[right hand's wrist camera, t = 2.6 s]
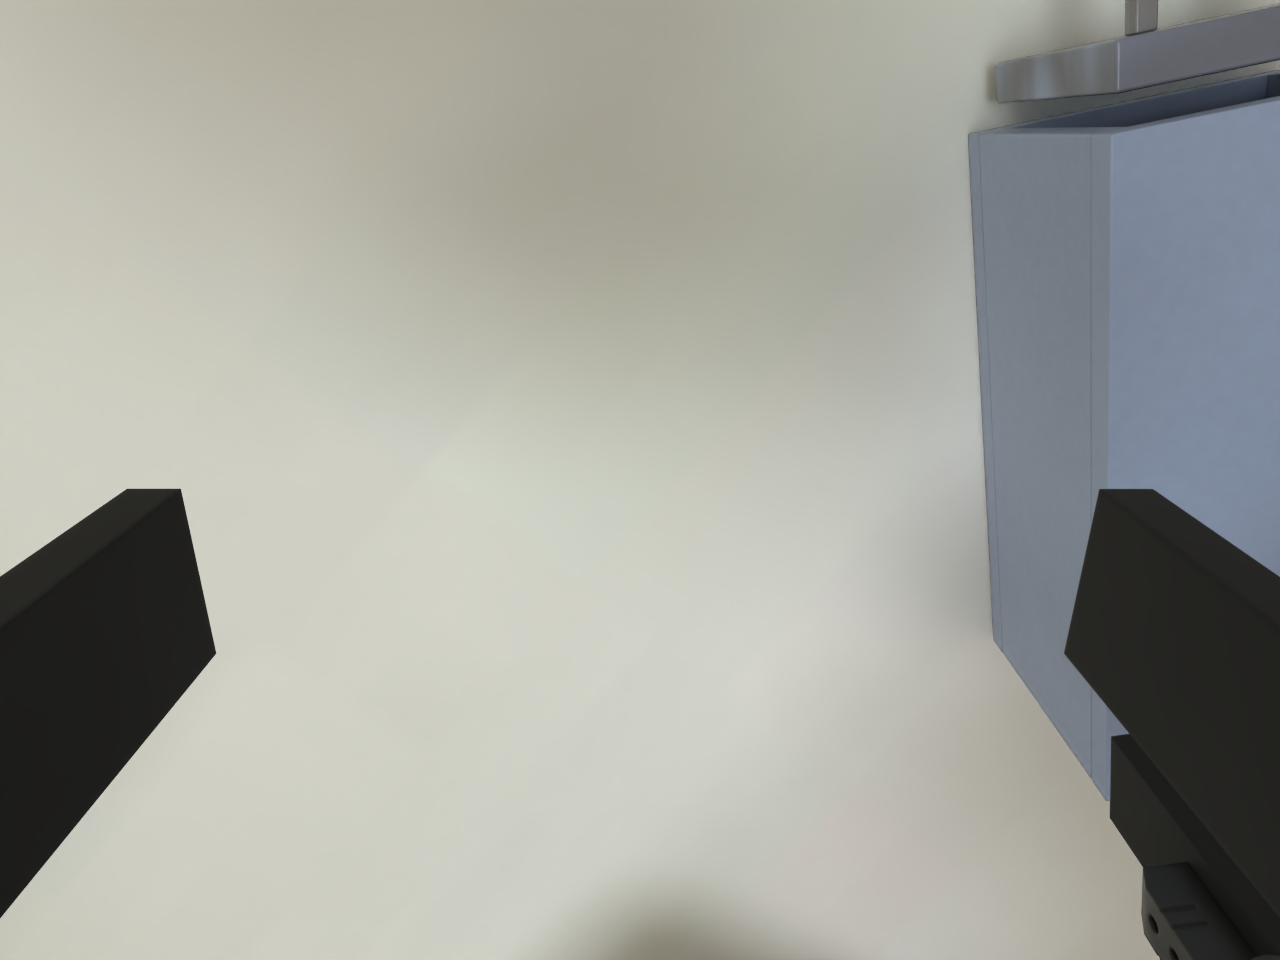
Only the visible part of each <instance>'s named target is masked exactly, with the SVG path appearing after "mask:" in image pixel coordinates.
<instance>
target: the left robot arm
mask: <svg viewBox="0 0 1280 960" xmlns="http://www.w3.org/2000/svg"><path fill="white" fill-rule="evenodd" d="M1110 819H1111V820H1112V822H1113V823H1114V825H1115V826H1116V828H1117V829H1118V831H1119V832H1120V833H1121V835H1122V836H1123V838H1124V839H1125V841H1126V842H1127V844H1128V845H1129V847H1130V848H1131V850H1132V851H1133V853H1134V854H1135V856H1136V857H1137V859H1138V860H1139V862H1140V863H1141V865H1142V866H1143V884H1142V921H1143V928H1144V934H1145V936H1146V938H1147V939H1148V941H1149V942H1150V944H1151V946H1152V947H1153V949H1154V951H1155V952H1156V954H1157V955H1159V957H1160V960H1280V918H1279V917H1278V915H1277V914H1276V913H1275V912H1274V910H1273V909H1272V908H1271V907H1270V906H1269V904H1268V903H1267V902H1266V901H1265V899H1264V898H1263V897H1262V896H1261V895H1260V893H1259V892H1258V891H1257V890H1256V888H1255V887H1254V886H1253V885H1252V883H1251V882H1250V881H1249V880H1248V879H1247V877H1246V876H1245V875H1244V874H1243V872H1242V871H1241V870H1240V869H1239V868H1238V866H1237V865H1236V864H1235V863H1234V861H1233V860H1232V859H1231V858H1230V857H1229V855H1228V854H1227V853H1226V852H1225V850H1224V849H1223V848H1222V847H1221V845H1220V844H1219V843H1218V842H1217V841H1216V839H1215V838H1214V837H1213V836H1212V834H1211V833H1210V832H1209V831H1208V830H1207V828H1206V827H1205V826H1204V825H1203V823H1202V822H1201V821H1200V820H1199V819H1198V817H1197V816H1196V815H1195V814H1194V812H1193V811H1192V810H1191V809H1190V807H1189V806H1188V805H1187V804H1186V803H1185V801H1184V800H1183V799H1182V798H1181V796H1180V795H1179V794H1178V793H1177V792H1176V790H1175V789H1174V788H1173V787H1172V785H1171V784H1170V783H1169V782H1168V780H1167V779H1166V778H1165V777H1164V776H1163V774H1162V773H1161V772H1160V771H1159V769H1158V768H1157V767H1156V766H1155V765H1154V763H1153V762H1152V761H1151V760H1150V758H1149V757H1148V756H1147V755H1146V754H1145V752H1144V751H1143V750H1142V749H1141V747H1140V746H1139V745H1138V744H1137V742H1136V741H1135V740H1134V739H1133V738H1132V736H1131V735H1130V734H1123V735H1117V736H1111V775H1110Z"/></svg>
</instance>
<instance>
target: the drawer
mask: <svg viewBox="0 0 1280 960" xmlns="http://www.w3.org/2000/svg"><path fill="white" fill-rule="evenodd" d="M1157 20H1158V0H1125V35H1126V36H1123V37H1118V38H1113V39H1109V40H1104V41H1099V42H1095V43H1090V44H1085V45H1080V46H1076V47H1071V48H1066V49H1061V50H1057V51H1052V52H1047V53H1042V54H1038V55H1033V56H1028V57H1024V58H1019V59H1014V60H1009V61H1005V62H1000V63H997V64H996V93H997V102H998V103H1009V102H1021V101H1033V100H1044V99H1056V98H1068V97H1080V96H1092V95H1104V94H1116V93H1122V92H1127V91H1131V90H1136V89H1141V88H1146V87H1151V86H1156V85H1160V84H1165V83H1170V82H1175V81H1180V80H1185V79H1189V78H1194V77H1199V76H1204V75H1209V74H1214V73H1218V72H1223V71H1228V70H1233V69H1238V68H1243V67H1247V66H1252V65H1257V64H1262V63H1267V62H1272V61H1276V60H1280V3H1279V4H1274V5H1270V6H1265V7H1260V8H1255V9H1251V10H1246V11H1241V12H1237V13H1232V14H1227V15H1222V16H1218V17H1213V18H1208V19H1203V20H1199V21H1194V22H1189V23H1184V24H1180V25H1175V26H1170V27H1166V28H1161V29H1157ZM1255 101H1257V100H1255ZM1250 102H1252V101H1250ZM1245 103H1247V102H1245ZM1240 104H1242V103H1240ZM1235 105H1237V104H1235ZM1231 106H1232V105H1231ZM1226 107H1227V106H1226ZM1221 108H1222V107H1221ZM1216 109H1217V108H1216ZM1211 110H1213V109H1211ZM1206 111H1208V110H1206ZM1201 112H1203V111H1201ZM1196 113H1198V112H1196ZM1191 114H1193V113H1191ZM1186 115H1188V114H1186ZM1182 116H1183V115H1182ZM1177 117H1178V116H1177ZM1172 118H1173V117H1172ZM1167 119H1168V118H1167ZM1162 120H1164V119H1162ZM1157 121H1159V120H1157ZM1152 122H1154V121H1152ZM1147 123H1149V122H1147ZM1142 124H1144V123H1142ZM1137 125H1139V124H1137ZM1132 126H1134V125H1132ZM1128 127H1129V126H1128Z"/></svg>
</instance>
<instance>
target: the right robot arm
mask: <svg viewBox="0 0 1280 960" xmlns="http://www.w3.org/2000/svg"><path fill="white" fill-rule="evenodd" d="M215 654H216V651H215V646H214V641H213V637H212V632H211V627H210V623H209V618H208V613H207V609H206V604H205V599H204V595H203V590H202V585H201V581H200V576H199V572H198V567H197V562H196V558H195V553H194V548H193V544H192V539H191V534H190V530H189V525H188V520H187V516H186V511H185V506H184V502H183V497H182V493H181V489H126V490H125V491H123V492H122V493H121V494H119V495H118V496H116V497H115V498H113V499H112V500H110V501H109V502H108V503H106V504H105V505H103V506H102V507H100V508H99V509H97V510H96V511H95V512H93V513H92V514H90V515H89V516H87V517H86V518H84V519H83V520H82V521H80V522H79V523H77V524H76V525H74V526H73V527H71V528H70V529H69V530H67V531H66V532H64V533H63V534H61V535H60V536H58V537H57V538H56V539H54V540H53V541H51V542H50V543H48V544H47V545H45V546H44V547H43V548H41V549H40V550H38V551H37V552H35V553H34V554H32V555H31V556H30V557H28V558H27V559H25V560H24V561H22V562H21V563H19V564H18V565H17V566H15V567H14V568H12V569H11V570H9V571H8V572H6V573H5V574H4V575H2V576H1V577H0V918H1V917H2V915H3V914H4V913H5V912H6V910H7V909H8V908H9V907H10V906H11V904H12V903H13V902H14V901H15V899H16V898H17V897H18V896H19V895H20V893H21V892H22V891H23V890H24V888H25V887H26V886H27V885H28V883H29V882H30V881H31V880H32V879H33V877H34V876H35V875H36V874H37V872H38V871H39V870H40V869H41V868H42V866H43V865H44V864H45V863H46V861H47V860H48V859H49V858H50V857H51V855H52V854H53V853H54V852H55V850H56V849H57V848H58V847H59V845H60V844H61V843H62V842H63V841H64V839H65V838H66V837H67V836H68V834H69V833H70V832H71V831H72V830H73V828H74V827H75V826H76V825H77V823H78V822H79V821H80V820H81V818H82V817H83V816H84V815H85V814H86V812H87V811H88V810H89V809H90V807H91V806H92V805H93V804H94V803H95V801H96V800H97V799H98V798H99V796H100V795H101V794H102V793H103V792H104V790H105V789H106V788H107V787H108V785H109V784H110V783H111V782H112V780H113V779H114V778H115V777H116V776H117V774H118V773H119V772H120V771H121V769H122V768H123V767H124V766H125V765H126V763H127V762H128V761H129V760H130V758H131V757H132V756H133V755H134V754H135V752H136V751H137V750H138V749H139V747H140V746H141V745H142V744H143V742H144V741H145V740H146V739H147V738H148V736H149V735H150V734H151V733H152V731H153V730H154V729H155V728H156V727H157V725H158V724H159V723H160V722H161V720H162V719H163V718H164V717H165V716H166V714H167V713H168V712H169V711H170V709H171V708H172V707H173V706H174V704H175V703H176V702H177V701H178V700H179V698H180V697H181V696H182V695H183V693H184V692H185V691H186V690H187V689H188V687H189V686H190V685H191V684H192V682H193V681H194V680H195V679H196V678H197V676H198V675H199V674H200V673H201V671H202V670H203V669H204V668H205V666H206V665H207V664H208V663H209V662H210V660H211V659H212V658H213V657H214V655H215ZM1064 654H1065V655H1066V657H1067V658H1068V659H1069V660H1070V662H1071V663H1072V664H1073V665H1074V666H1075V668H1076V669H1077V670H1078V671H1079V673H1080V674H1081V675H1082V676H1083V678H1084V679H1085V680H1086V681H1087V682H1088V684H1089V685H1090V686H1091V687H1092V689H1093V690H1094V691H1095V692H1096V693H1097V695H1098V696H1099V697H1100V698H1101V700H1102V701H1103V702H1104V703H1105V704H1106V706H1107V707H1108V708H1109V709H1110V711H1111V712H1112V713H1113V714H1114V716H1115V717H1116V718H1117V719H1118V720H1119V722H1120V723H1121V724H1122V725H1123V727H1124V728H1125V729H1126V730H1127V731H1128V733H1129V734H1130V735H1131V736H1132V738H1133V739H1134V740H1135V741H1136V742H1137V744H1138V745H1139V746H1140V747H1141V749H1142V750H1143V751H1144V752H1145V754H1146V755H1147V756H1148V757H1149V758H1150V760H1151V761H1152V762H1153V763H1154V765H1155V766H1156V767H1157V768H1158V769H1159V771H1160V772H1161V773H1162V774H1163V776H1164V777H1165V778H1166V779H1167V780H1168V782H1169V783H1170V784H1171V785H1172V787H1173V788H1174V789H1175V790H1176V792H1177V793H1178V794H1179V795H1180V796H1181V798H1182V799H1183V800H1184V801H1185V803H1186V804H1187V805H1188V806H1189V807H1190V809H1191V810H1192V811H1193V812H1194V814H1195V815H1196V816H1197V817H1198V819H1199V820H1200V821H1201V822H1202V823H1203V825H1204V826H1205V827H1206V828H1207V830H1208V831H1209V832H1210V833H1211V834H1212V836H1213V837H1214V838H1215V839H1216V841H1217V842H1218V843H1219V844H1220V845H1221V847H1222V848H1223V849H1224V850H1225V852H1226V853H1227V854H1228V855H1229V857H1230V858H1231V859H1232V860H1233V861H1234V863H1235V864H1236V865H1237V866H1238V868H1239V869H1240V870H1241V871H1242V872H1243V874H1244V875H1245V876H1246V877H1247V879H1248V880H1249V881H1250V882H1251V883H1252V885H1253V886H1254V887H1255V888H1256V890H1257V891H1258V892H1259V893H1260V895H1261V896H1262V897H1263V898H1264V899H1265V901H1266V902H1267V903H1268V904H1269V906H1270V907H1271V908H1272V909H1273V910H1274V912H1275V913H1276V914H1277V915H1278V917H1279V918H1280V577H1279V576H1278V575H1276V574H1275V573H1274V572H1272V571H1271V570H1269V569H1268V568H1266V567H1265V566H1263V565H1262V564H1261V563H1259V562H1258V561H1256V560H1255V559H1253V558H1252V557H1250V556H1249V555H1248V554H1246V553H1245V552H1243V551H1242V550H1240V549H1239V548H1237V547H1236V546H1235V545H1233V544H1232V543H1230V542H1229V541H1227V540H1226V539H1224V538H1223V537H1222V536H1220V535H1219V534H1217V533H1216V532H1214V531H1213V530H1211V529H1210V528H1209V527H1207V526H1206V525H1204V524H1203V523H1201V522H1200V521H1198V520H1197V519H1196V518H1194V517H1193V516H1191V515H1190V514H1188V513H1187V512H1185V511H1184V510H1183V509H1181V508H1180V507H1178V506H1177V505H1175V504H1174V503H1172V502H1171V501H1170V500H1168V499H1167V498H1165V497H1164V496H1162V495H1161V494H1159V493H1158V492H1157V491H1155V490H1154V489H1099V493H1098V497H1097V502H1096V506H1095V511H1094V516H1093V520H1092V525H1091V530H1090V534H1089V539H1088V544H1087V548H1086V553H1085V558H1084V562H1083V567H1082V572H1081V576H1080V581H1079V585H1078V590H1077V595H1076V599H1075V604H1074V609H1073V613H1072V618H1071V623H1070V627H1069V632H1068V637H1067V641H1066V646H1065V651H1064Z"/></svg>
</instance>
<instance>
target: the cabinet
mask: <svg viewBox="0 0 1280 960" xmlns="http://www.w3.org/2000/svg"><path fill="white" fill-rule="evenodd" d="M1255 100H1257V101H1255ZM1250 101H1252V102H1250ZM1245 102H1247V103H1245ZM1240 103H1242V104H1240ZM1235 104H1237V105H1235ZM1231 105H1232V106H1231ZM1226 106H1227V107H1226ZM1221 107H1222V108H1221ZM1216 108H1217V109H1216ZM1211 109H1213V110H1211ZM1206 110H1208V111H1206ZM1201 111H1203V112H1201ZM1196 112H1198V113H1196ZM1191 113H1193V114H1191ZM1186 114H1188V115H1186ZM1182 115H1183V116H1182ZM1177 116H1178V117H1177ZM1172 117H1173V118H1172ZM1167 118H1168V119H1167ZM1162 119H1164V120H1162ZM1157 120H1159V121H1157ZM1152 121H1154V122H1152ZM1147 122H1149V123H1147ZM1142 123H1144V124H1142ZM1137 124H1139V125H1137ZM1132 125H1134V126H1132ZM1128 126H1129V127H1128ZM968 140H969V159H970V179H971V199H972V219H973V239H974V259H975V279H976V299H977V319H978V338H979V358H980V378H981V398H982V418H983V438H984V458H985V478H986V498H987V518H988V537H989V557H990V577H991V597H992V617H993V637H994V641H995V643H996V644H997V646H998V647H999V648H1000V650H1001V651H1002V652H1003V653H1004V655H1005V656H1006V658H1007V659H1008V661H1009V662H1010V663H1011V665H1012V666H1013V668H1014V669H1015V671H1016V672H1017V673H1018V675H1019V676H1020V678H1021V679H1022V681H1023V682H1024V683H1025V685H1026V686H1027V688H1028V689H1029V691H1030V692H1031V693H1032V695H1033V696H1034V698H1035V699H1036V701H1037V702H1038V703H1039V705H1040V706H1041V708H1042V709H1043V711H1044V712H1045V713H1046V715H1047V716H1048V718H1049V719H1050V721H1051V722H1052V723H1053V725H1054V726H1055V728H1056V729H1057V731H1058V732H1059V733H1060V735H1061V736H1062V738H1063V739H1064V741H1065V742H1066V743H1067V745H1068V746H1069V748H1070V749H1071V751H1072V752H1073V754H1074V755H1075V756H1076V758H1077V759H1078V761H1079V762H1080V764H1081V765H1082V766H1083V768H1084V769H1085V771H1086V772H1087V774H1088V775H1089V776H1090V778H1091V779H1092V781H1093V783H1094V784H1095V786H1096V787H1097V788H1098V790H1099V791H1100V793H1101V794H1102V796H1103V797H1104V798H1105V800H1106V801H1110V775H1111V736H1117V735H1123V734H1129V733H1128V731H1127V730H1126V729H1125V728H1124V727H1123V725H1122V724H1121V723H1120V722H1119V720H1118V719H1117V718H1116V717H1115V716H1114V714H1113V713H1112V712H1111V711H1110V709H1109V708H1108V707H1107V706H1106V704H1105V703H1104V702H1103V701H1102V700H1101V698H1100V697H1099V696H1098V695H1097V693H1096V692H1095V691H1094V690H1093V689H1092V687H1091V686H1090V685H1089V684H1088V682H1087V681H1086V680H1085V679H1084V678H1083V676H1082V675H1081V674H1080V673H1079V671H1078V670H1077V669H1076V668H1075V666H1074V665H1073V664H1072V663H1071V662H1070V660H1069V659H1068V658H1067V657H1066V655H1065V654H1064V651H1065V646H1066V641H1067V637H1068V632H1069V627H1070V623H1071V618H1072V613H1073V609H1074V604H1075V599H1076V595H1077V590H1078V585H1079V581H1080V576H1081V572H1082V567H1083V562H1084V558H1085V553H1086V548H1087V544H1088V539H1089V534H1090V530H1091V525H1092V520H1093V516H1094V511H1095V506H1096V502H1097V497H1098V493H1099V489H1154V490H1155V491H1157V492H1158V493H1159V494H1161V495H1162V496H1164V497H1165V498H1167V499H1168V500H1170V501H1171V502H1172V503H1174V504H1175V505H1177V506H1178V507H1180V508H1181V509H1183V510H1184V511H1185V512H1187V513H1188V514H1190V515H1191V516H1193V517H1194V518H1196V519H1197V520H1198V521H1200V522H1201V523H1203V524H1204V525H1206V526H1207V527H1209V528H1210V529H1211V530H1213V531H1214V532H1216V533H1217V534H1219V535H1220V536H1222V537H1223V538H1224V539H1226V540H1227V541H1229V542H1230V543H1232V544H1233V545H1235V546H1236V547H1237V548H1239V549H1240V550H1242V551H1243V552H1245V553H1246V554H1248V555H1249V556H1250V557H1252V558H1253V559H1255V560H1256V561H1258V562H1259V563H1261V564H1262V565H1263V566H1265V567H1266V568H1268V569H1269V570H1271V571H1272V572H1274V573H1275V574H1276V575H1278V576H1279V577H1280V70H1276V71H1271V72H1267V73H1262V74H1257V75H1252V76H1247V77H1242V78H1238V79H1233V80H1228V81H1223V82H1218V83H1213V84H1208V85H1204V86H1199V87H1194V88H1189V89H1184V90H1179V91H1174V92H1170V93H1165V94H1160V95H1155V96H1150V97H1145V98H1140V99H1136V100H1131V101H1126V102H1121V103H1116V104H1111V105H1106V106H1102V107H1097V108H1092V109H1087V110H1082V111H1077V112H1072V113H1068V114H1063V115H1058V116H1053V117H1048V118H1043V119H1038V120H1034V121H1029V122H1024V123H1019V124H1014V125H1009V126H1004V127H1000V128H995V129H990V130H985V131H980V132H975V133H970V134H969V135H968Z"/></svg>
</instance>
